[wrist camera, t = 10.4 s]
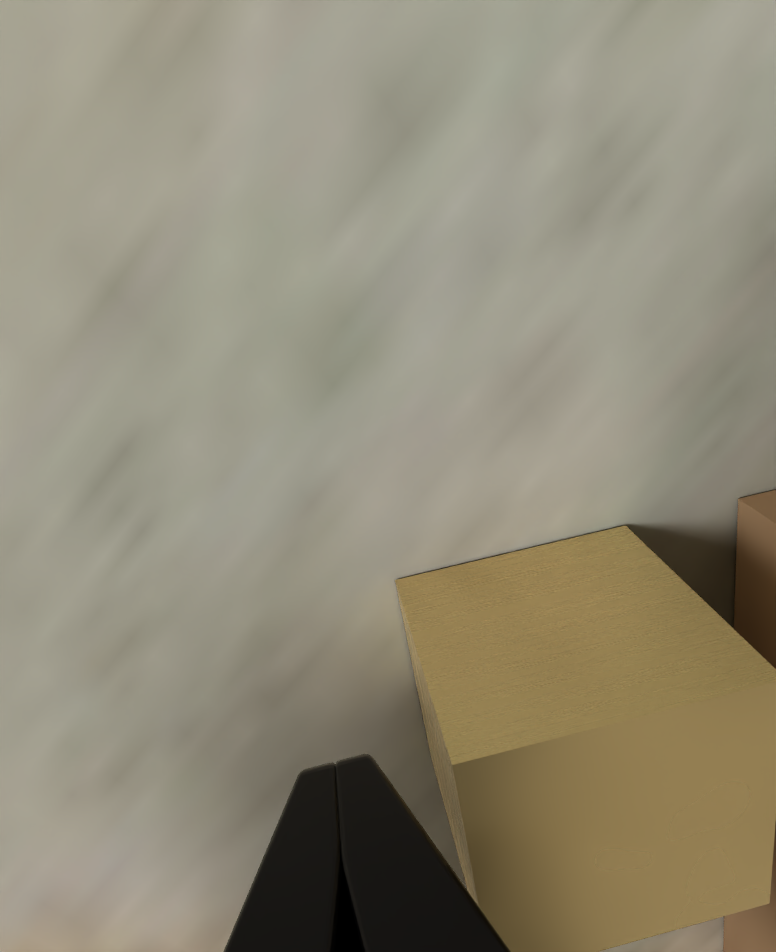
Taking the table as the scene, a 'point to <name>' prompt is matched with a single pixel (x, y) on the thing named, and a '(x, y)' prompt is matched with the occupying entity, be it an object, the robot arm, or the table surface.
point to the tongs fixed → (772, 635)
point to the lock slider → (594, 742)
